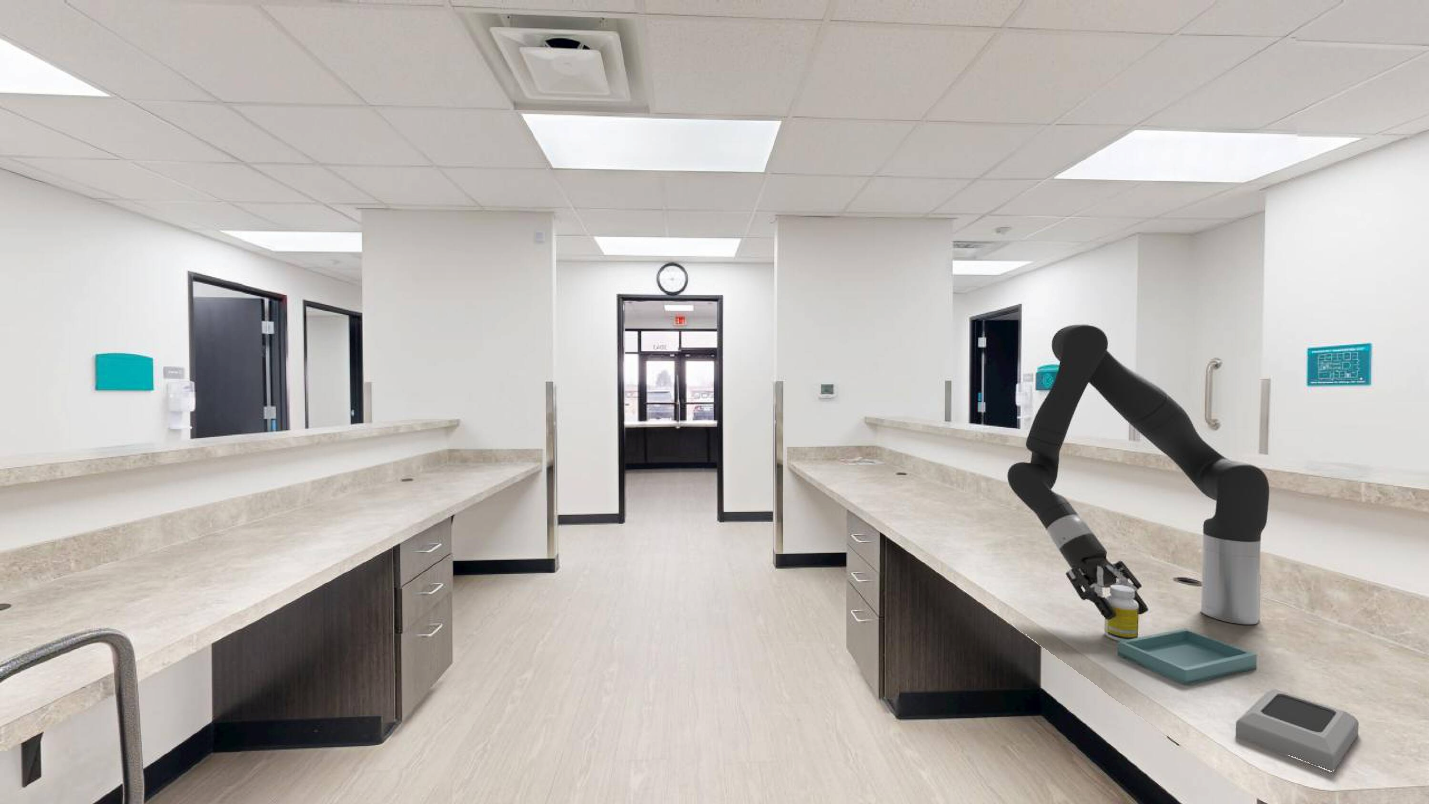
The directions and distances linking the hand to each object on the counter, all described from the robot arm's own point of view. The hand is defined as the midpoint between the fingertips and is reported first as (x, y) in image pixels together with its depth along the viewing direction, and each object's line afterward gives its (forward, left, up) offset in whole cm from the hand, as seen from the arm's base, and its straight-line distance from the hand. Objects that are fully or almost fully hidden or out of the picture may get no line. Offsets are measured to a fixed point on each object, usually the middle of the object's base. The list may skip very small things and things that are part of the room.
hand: (1128, 615), depth 114 cm
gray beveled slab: (+8, +30, -6) cm, 31 cm away
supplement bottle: (0, -1, -5) cm, 5 cm away
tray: (-1, +10, -5) cm, 11 cm away
